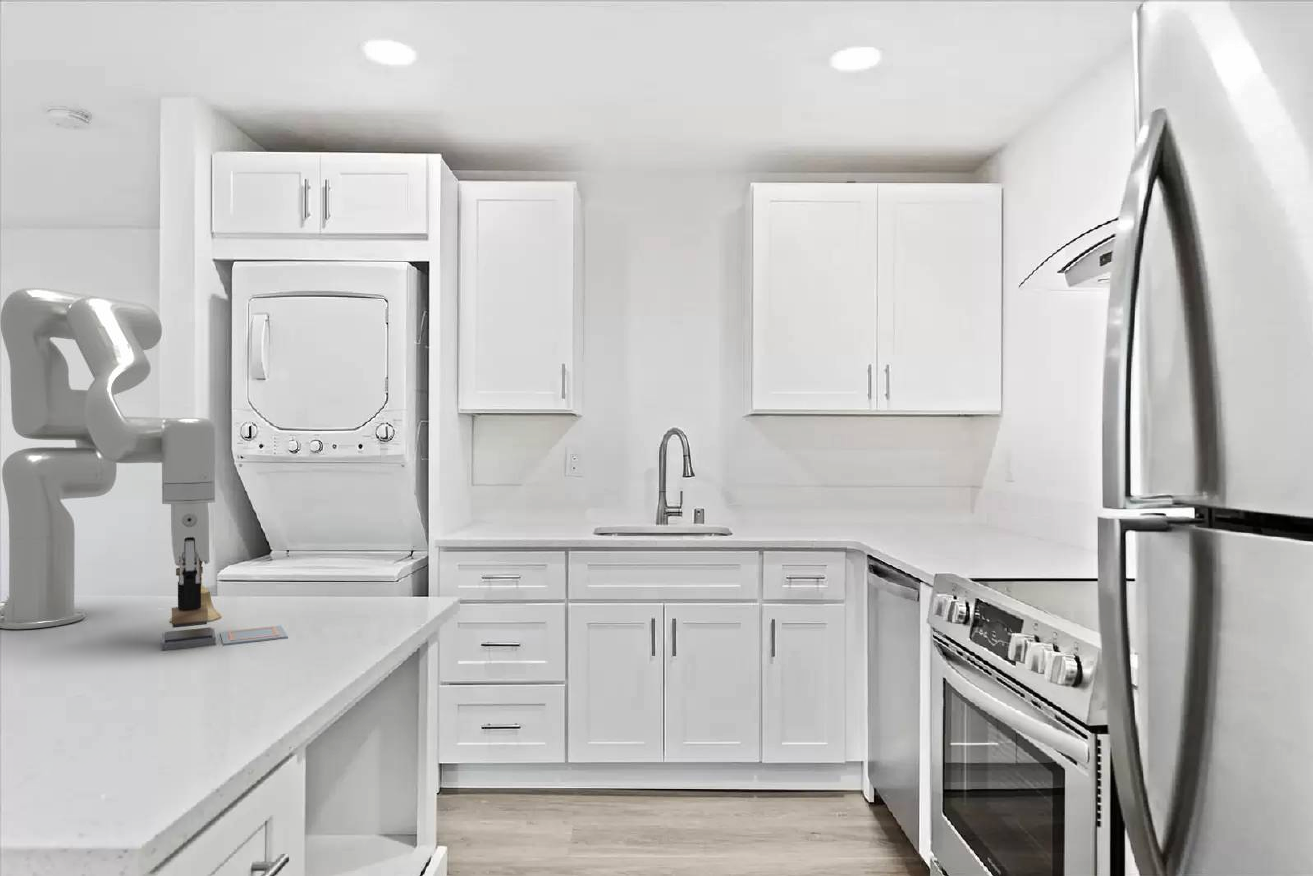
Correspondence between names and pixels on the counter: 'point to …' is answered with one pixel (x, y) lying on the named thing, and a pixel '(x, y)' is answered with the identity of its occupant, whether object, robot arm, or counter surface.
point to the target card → (252, 635)
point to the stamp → (189, 611)
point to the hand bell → (207, 602)
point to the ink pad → (188, 638)
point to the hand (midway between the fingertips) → (189, 606)
